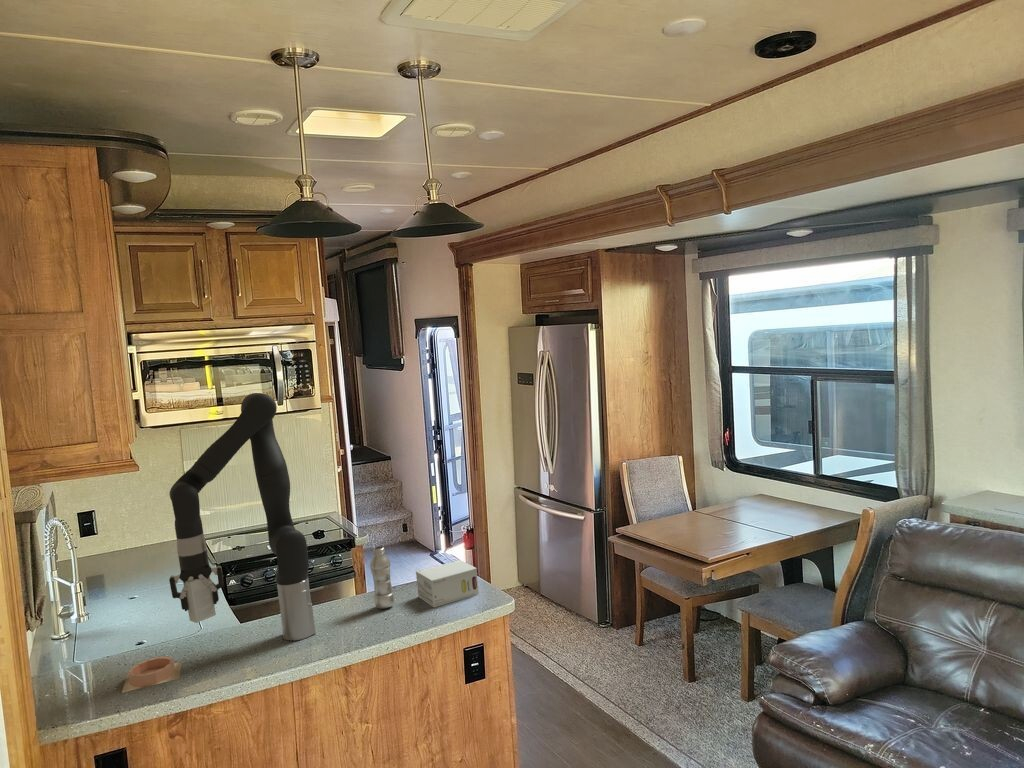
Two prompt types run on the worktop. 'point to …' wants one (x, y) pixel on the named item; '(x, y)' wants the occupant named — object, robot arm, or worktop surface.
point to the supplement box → (447, 583)
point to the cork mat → (173, 677)
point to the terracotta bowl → (151, 671)
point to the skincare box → (199, 600)
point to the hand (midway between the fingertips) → (200, 606)
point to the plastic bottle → (381, 579)
